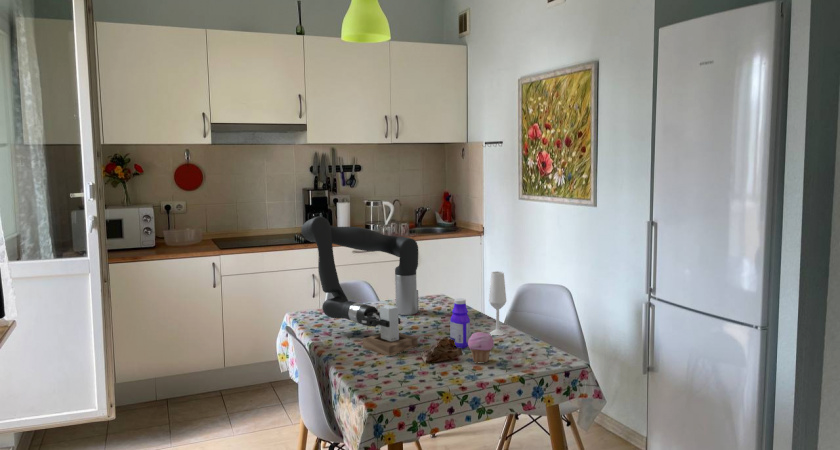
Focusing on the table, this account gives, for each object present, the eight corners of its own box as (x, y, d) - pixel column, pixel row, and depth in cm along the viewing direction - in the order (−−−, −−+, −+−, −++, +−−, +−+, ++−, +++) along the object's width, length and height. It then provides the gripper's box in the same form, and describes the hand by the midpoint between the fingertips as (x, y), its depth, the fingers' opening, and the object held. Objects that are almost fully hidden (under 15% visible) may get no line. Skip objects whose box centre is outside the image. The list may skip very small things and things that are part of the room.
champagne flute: (486, 335, 245) (486, 273, 242) (492, 330, 251) (492, 270, 248) (502, 337, 242) (502, 275, 239) (508, 332, 248) (508, 271, 245)
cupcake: (467, 357, 220) (467, 329, 219) (492, 357, 220) (492, 328, 219) (468, 366, 211) (468, 336, 210) (494, 366, 211) (494, 336, 210)
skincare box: (399, 339, 231) (399, 307, 229) (389, 342, 228) (389, 309, 226) (389, 335, 236) (389, 303, 234) (379, 338, 233) (379, 305, 231)
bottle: (473, 346, 232) (472, 299, 230) (463, 350, 228) (462, 302, 226) (457, 342, 237) (457, 296, 235) (447, 345, 233) (447, 299, 231)
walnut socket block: (391, 339, 242) (390, 330, 242) (417, 346, 232) (417, 337, 232) (362, 348, 232) (362, 338, 232) (389, 356, 222) (389, 346, 222)
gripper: (348, 308, 235) (379, 316, 223) (377, 300, 245) (408, 308, 234) (348, 327, 236) (379, 337, 224) (377, 319, 246) (408, 328, 235)
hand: (394, 322), depth 229 cm, fingers closed on skincare box, 4 cm apart
